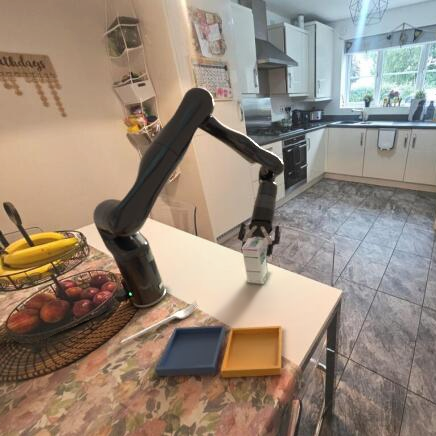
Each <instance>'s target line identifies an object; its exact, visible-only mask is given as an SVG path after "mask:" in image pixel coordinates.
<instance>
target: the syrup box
mask: <svg viewBox="0 0 436 436" xmlns="http://www.w3.org/2000/svg"><path fill="white" fill-rule="evenodd" d="M241 248H242V251H241V253H242V252H243V253H242V257H243V263H244V268H245V274H246V279H247V283H250V284H261V285H264V283H265V281H266V279H267V277H268V275H269V268H268V259H267V256H266V253H267V251H266V245H265V238H256V237H254V238H248V240H247V241H246V242H245V244H244V245H243V247H242V246H241Z"/></svg>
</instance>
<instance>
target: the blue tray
mask: <svg viewBox="0 0 436 436" xmlns="http://www.w3.org/2000/svg"><path fill="white" fill-rule="evenodd" d="M226 335H227V329H226V325H205V326H183V327H175V328H174V329H173V331H172V333H171V335H170V338H169V339H168V341H167V344H166V346H165V347H164V350H163V352H162V354H161V357H160V358H159V360H158V363H157V364H156V367H155V369H154V372H155V373H156V375H157V377H171V376H173V377H174V376H192V375H215V374H217V368H218V365H219V361H220V357H221V354H222V350H223V345H224V341H225V339H226Z"/></svg>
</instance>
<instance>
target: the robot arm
mask: <svg viewBox="0 0 436 436" xmlns="http://www.w3.org/2000/svg"><path fill="white" fill-rule="evenodd" d="M214 110H215V99H214V97H213V95H212V93H211V92H210V91H209V90H208V89H206V88H205V87H201V86H195V87H192V88H190V89H188V90H187V91H186V92H185V93H184V95H183V97H182V99H181V101H180V103H179V105H178V107H177V109H176V110H175V112H174V114H173V115H172V117H171V118H170V119H169V120H168V121H167V122H166V124H165V125H164V126H163V127H162V129H161V130H159V132H158V133H157V135H156V136H155V137H154V138H153V140H152V141H151V142H150V143H149V145H148V146H147V148H146V149H145V150H144V152H143V153H142V155H141V156H140V157H141V158H140V161H139V164H138V169H137V175H136V179H135V182H134V183H133V185H132V187H131V188H130V189H129V191H128V192H127V193H126V195H125V196H124V197H123V198H122V200H121V199H116V198H110V199H105V200H102V201H100V203H98V204H97V205H96V206H95V208H94V211H93V214H92V218H93V222H94V225H95V228H96V230H97V232H98V235H99V236H100V238H101V240H102V243H103V244H104V246H105V248H106V249H107V251H108V252H109V253H110V254H111V255H112V258H113V260H114V262H115V264H116V266H117V269H118V271H119V273H120V276H121V277H122V278H121V280H120V283H121V286H122V288H121V289H120V290H119V292H118V293H117V294H115V295H116V296H115V295H114V296H115V297H116V298H115V299H116V301H117V303H126V302H128V301H129V303H130V305H131V306H134V307H135V308H138V309H146V308H150V307H153V306H155V305H157V304H158V303H160V302H161V301H163V299H164V298H165V297H166V294H167V289H166V287H165V284H164V280H163V279H162V277H161V273H160V271H159V268H158V265H157V261H156V259H155V256H154V254H153V251H152V247H151V245H150V242H149V240H148V238H146V237H145V236H144V235H143V234H142V233H141V229H142V228H144V226H145V224H146V222H147V220H148V218H149V216H150V214H151V212H152V210H153V208H154V207H155V204H156V202H157V200H158V199H159V197H160V195H161V193H162V192H163V190H164V188H165V187H166V185H167V184H168V183H169V181H170V179H171V178H172V177H173V175H174V174H175V172H176V170H177V169H178V167H179V166H180V164H181V163H182V161H183V159H184V158H185V156H186V154H187V152H188V150H189V148H190V145H191V143H192V141H193V138H194V135H195V134H196V132H197V130H198V129H199V130H201V131H203V132H204V133H206V134H208V135H210V136H211V137H213V138H215V140H217V141H220V142H221V143H223V144H224V145H225V146H227V147H228V148H230V149H231V150H232V151H234V152H235V153H236V154H238V155H239V156H240V157H241V158H242V159H244V160H245V161H246V162H247V163H249V164H251V165H255V164H258V165H260V167H259V169H258V188H257V193H256V197H255V200H254V204H253V209H252V213H251V218H250V223H249V224H248V223H247V224H246V223H244V222H242V223H241V225H240V228H239V232H238V236H237V240H239V241H240V242H242V244H241V249H240V251H241V254H243V252H242V247H243V245H244V244H245V242H246V241H247V240H248V238H258V239H266V241H267V243H268V244H267V248H266V257H271V256H272V255H273V251H274V246H275V245H280V240H281V230H282V229H281V227H280V226H279V225H276V226H273V222H274V218H275V211H276V203H277V202H276V201H277V196H278V185H277V183H276V178H277V177H279V176H280V175H282V174H283V172H284V171H285V163H284V162H283V160H282V158H281V157H279V156H278V155H276V154H274V153H273V152H271V151H269V150H267V149H265V148H263V147H261V146H260V145H259V144H258V143H257V142H255V141H254V140H253V139H251V137H250V136H248V135H247V134H244V133H243V132H241V131H239V130H236V129H234V128H231V127H229V126H227V125H226V124H224V123H223V122H222V121H220V120H219V119H218V118H217V117H215V115H213V113H214ZM248 229H249V231H248ZM247 231H248V232H247ZM246 232H247V233H246ZM272 232H273V233H274V238H272V237H271V235H270V234H271V233H272Z"/></svg>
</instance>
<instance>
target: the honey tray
mask: <svg viewBox="0 0 436 436" xmlns="http://www.w3.org/2000/svg"><path fill="white" fill-rule="evenodd" d="M282 337H283V331H282V325H276V326H275V325H271V326H251V327H249V326H248V327H231V328H230V330H229V334H228V338H227V344H226V347H225V351H224V356H223V360H222V364H221V368H220V373H221V374H220V375H221V377H222V379H223V378H242V377H263V376H281V375H282V352H283V351H282V346H283V345H282V344H283V343H282V341H283V338H282Z"/></svg>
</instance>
